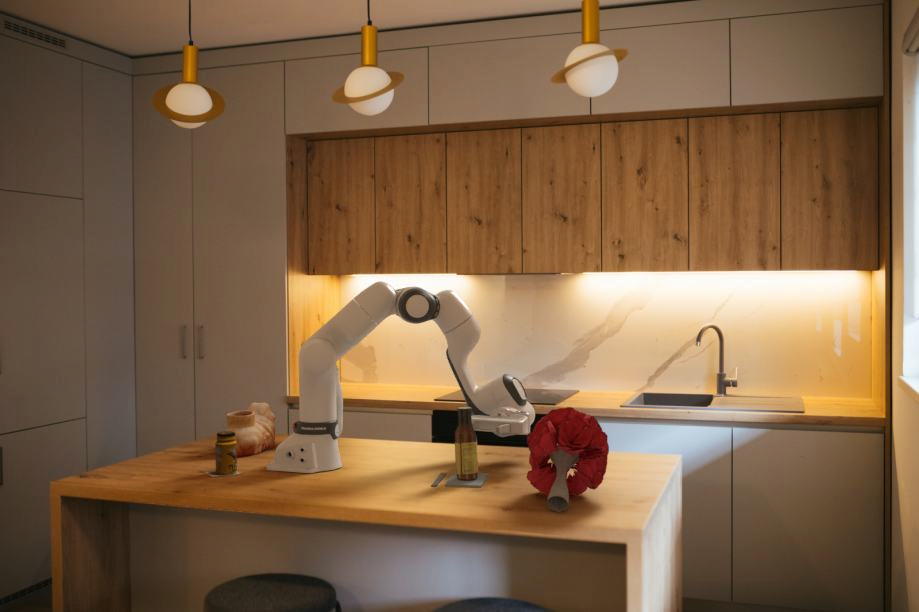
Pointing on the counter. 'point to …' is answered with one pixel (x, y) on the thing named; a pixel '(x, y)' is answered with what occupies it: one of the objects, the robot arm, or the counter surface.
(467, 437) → the sauce bottle
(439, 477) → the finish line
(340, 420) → the glass bottle
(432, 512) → the counter surface
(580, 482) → the bouquet
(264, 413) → the ceramic vessel
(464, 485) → the mat
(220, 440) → the condiment
